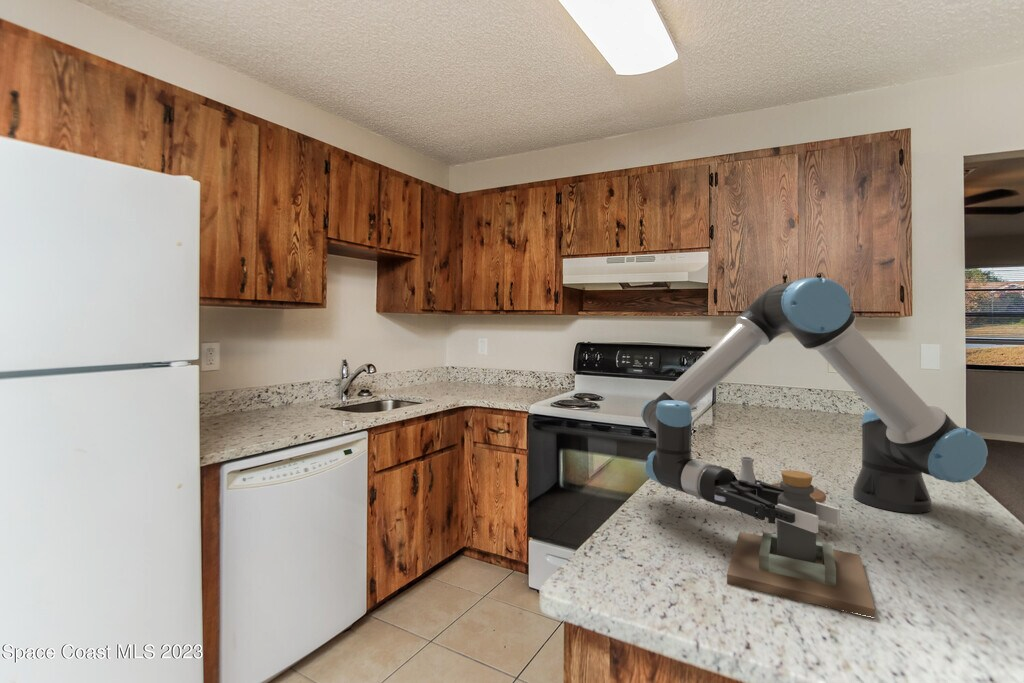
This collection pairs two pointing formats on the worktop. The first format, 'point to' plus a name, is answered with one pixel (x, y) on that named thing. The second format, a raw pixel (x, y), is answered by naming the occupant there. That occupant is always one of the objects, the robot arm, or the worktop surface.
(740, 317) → the robot arm
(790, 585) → the socket board
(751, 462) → the flask
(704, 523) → the worktop surface
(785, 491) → the bottle
